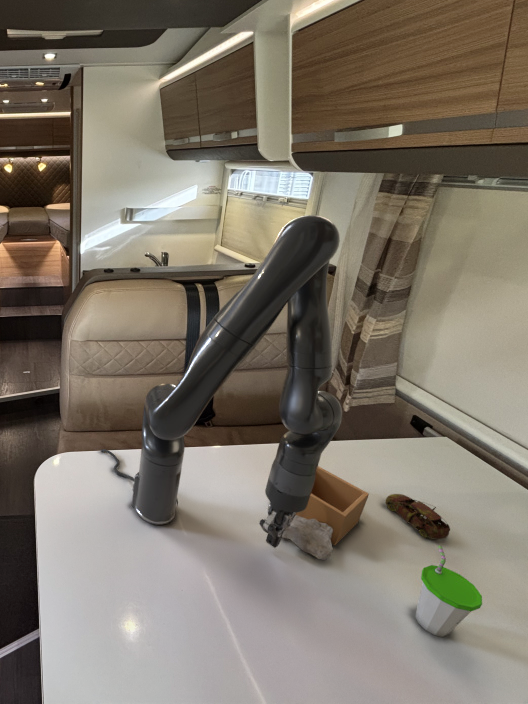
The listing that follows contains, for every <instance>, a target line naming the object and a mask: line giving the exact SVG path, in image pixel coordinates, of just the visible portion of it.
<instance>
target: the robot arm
mask: <svg viewBox="0 0 528 704" xmlns="http://www.w3.org/2000/svg"><path fill="white" fill-rule="evenodd" d="M340 241H341V240H340V232H339V230H338V228H337V226H336V224H334V222H332V221H331V220H330V219H328V218H327V217H324V216H322V215H315V214H309V215H302V216H300V217H296V218H294V219H292V220H290V221H289V222H288V223H286V224H285V225H284V226H283V227H282V228H281V230H280V231H279V233H278V235H277V237H276V239H275V241H274V243H273V244H272V246H271V248H270V249H269V251H268V252H267V254H266V256H265V257H264V259H263V260H262V262H261V264H260V265H259V266H258V268H257V269H256V271H255V272H254V273H253V275H252V276H251V277H250V279H249V280H248V281H246V283H244V284H243V286H242V287H241V288H240V289H239V290H238V291H237V292H235V293H234V294H233V295H232V296H231V297H230V298H229V300H228V301H226V303H225V304H223V306H222V307H221V308H220V310H219V311H218V312H217V313H216V314H215V315H214V316H213V318H212V319H211V321H210V322H209V323H208V325H207V326H206V327H205V328H204V330H203V331H202V332H201V334H200V336H199V337H198V340H197V341H196V343H195V345H194V348H193V350H192V353H191V355H190V358H189V361H188V364H187V367H186V369H185V371H184V373H183V374H182V377H181V379H180V380H179V381H178V383H177V384H176V385H175V384H173V383H159V384H157V385H155V386H154V387H152V388H151V389H150V390H149V391H148V392H147V394H146V396H145V398H144V403H143V413H142V425H141V449H140V459H139V467H138V472H137V473H135V475H134V477H133V476H131V475H128V474H126V473H123V472H120V471H118V467H119V465H120V459H119V458H118V457H117V455H115V454H114V453H113V452H112V451H110V450H109V449H105V448H102V449H100V452H101V453H107V454H109V455H110V456H111V457H112V458H113V459H114V460H115V462H116V464H115V465H114V466H113V472H114V473H115V474H117V475H119V476H121V477H123V478H126V479H129V480H131V481H132V482H133V485H132V499H131V507H132V508H133V509H134V510H135V512H136V514H137V515H138V516H139V517H140V518H141V519H142V520H144V521H145V522H147V523H150V524H153V525H158V526H159V525H160V526H163V525H167V524H169V523H171V522H172V521H173V520H174V518H175V515H176V507H177V508H178V506H179V500H178V495H179V494H178V493H179V487H180V481H181V475H182V469H183V462H184V456H185V448H186V447H185V446H186V445H185V435H187V434H188V433H189V432H190V431H191V429H192V428H193V427H194V426H195V424H196V422H197V421H198V420H199V418H200V417H201V415H202V414H203V412H204V410H205V409H206V408H207V406H208V405H209V403H210V401H211V400H212V399H213V397H214V396H215V395H216V394H217V392H218V391H219V390H220V389H221V388H222V387H223V386H224V384H225V383H226V382H227V381H228V380H229V378H230V377H231V376H232V374H234V372H235V371H236V370H237V369H238V368H239V366H240V365H241V364H242V363H243V362H244V361H245V360H246V358H247V357H249V356H250V354H251V353H252V352H253V350H254V349H255V348H256V347H257V346H258V345H259V343H260V342H261V341H262V339H263V338H264V337H265V335H266V334H267V333H268V332H269V330H270V329H271V328H272V326H273V325H274V323H275V322H276V320H277V319H278V317H279V316H280V314H281V313H282V311H283V310H284V308H285V307H286V305H287V310H286V311H287V312H286V333H285V334H286V338H285V339H286V340H285V341H286V342H285V345H286V349H285V350H286V369H287V370H286V373H285V378H284V381H283V385H282V388H281V393H280V396H279V401H278V414H279V418H280V420H281V423H282V424H283V425H284V427H285V428H286V429H287V430H288V431H287V432H285V433H284V434H283V435H282V436H281V438H280V440H279V443H278V446H277V450H276V454H275V457H274V460H273V461H272V464H271V467H270V471H269V475H268V478H267V482H266V486H265V490H264V492H265V496H266V498H267V500H268V501H269V502H270V503H269V504H268V506H267V516H266V518H261V519H260V520H259V524H258V525H259V526H260V528H261V529H262V531H263V532H264V533H266V539H265V541H266V543H267V544H268V545H270V547H272V548H274V549H276V548H277V547H278V546H279V545H280V544H281V541H282V538H283V537H282V534H283V533H284V532H285V531H286V527H289V526H290V525H291V522H292V520H293V519H294V517H295V515H296V513H297V512H301V511H303V510H305V509H306V507H307V504H308V501H309V498H310V495H311V492H312V488H313V485H314V482H315V476H316V470H317V467H318V466H319V465H320V460H321V458H322V454H323V452H324V451H325V450H326V448H327V447H328V446H329V444H330V442H331V441H332V439H333V438H334V436H335V435H336V433H337V431H338V430H339V428H340V426H341V423H342V420H343V409H342V405H341V403H340V401H339V399H337V397H336V396H334V395H333V394H332V393H330V392H327V391H324V390H320V388H321V387H322V386H323V385H324V384H325V383H327V382H329V381H330V380H331V378H332V375H333V342H332V340H333V339H332V330H331V321H330V314H329V308H328V295H327V293H328V291H327V286H328V274H329V266H330V261H331V260H332V259H333V258H334V256H335V255H336V253H337V252H338V249H339V246H340ZM105 451H106V452H105Z"/></svg>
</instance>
